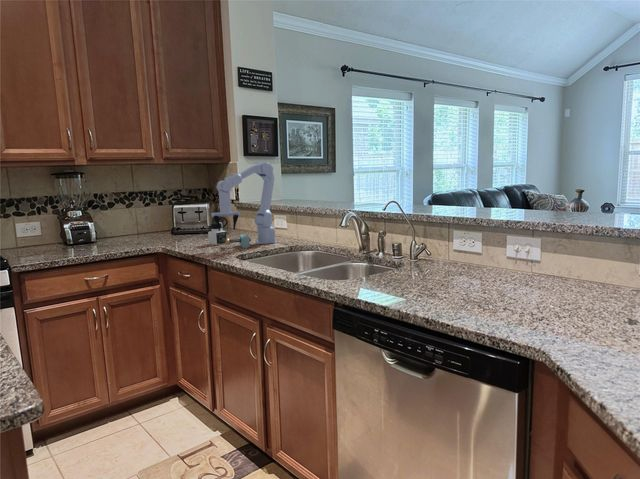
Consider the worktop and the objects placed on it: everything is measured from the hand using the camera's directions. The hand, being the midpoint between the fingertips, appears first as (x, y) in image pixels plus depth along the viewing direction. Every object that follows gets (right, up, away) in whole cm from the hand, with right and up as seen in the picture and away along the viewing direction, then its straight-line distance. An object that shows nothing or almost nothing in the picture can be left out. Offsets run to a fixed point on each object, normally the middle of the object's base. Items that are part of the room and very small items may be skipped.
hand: (226, 229), depth 242 cm
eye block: (+8, -9, +7) cm, 14 cm away
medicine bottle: (-8, -8, +17) cm, 20 cm away
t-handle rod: (+5, -7, +6) cm, 10 cm away
